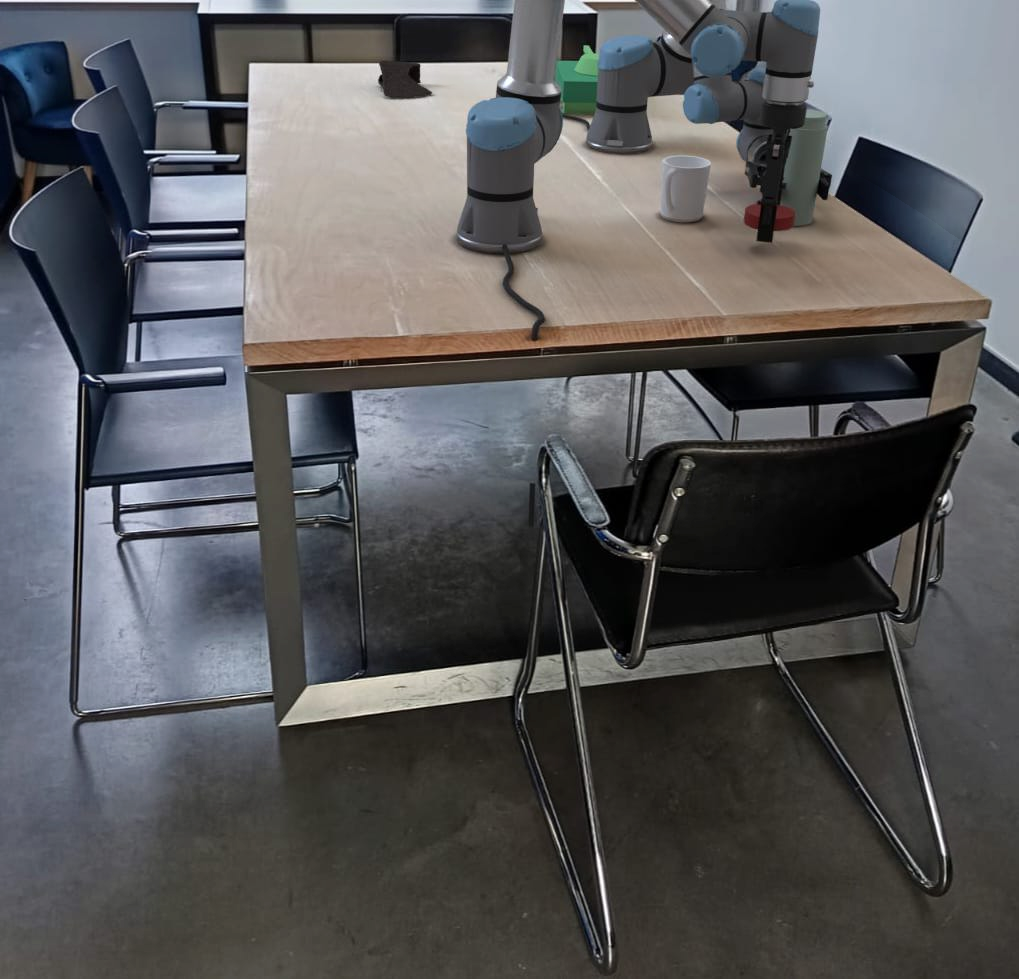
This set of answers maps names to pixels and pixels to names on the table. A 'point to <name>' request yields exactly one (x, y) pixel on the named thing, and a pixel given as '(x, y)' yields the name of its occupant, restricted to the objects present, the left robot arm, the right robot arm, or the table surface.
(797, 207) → the jar
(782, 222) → the lid
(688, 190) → the mug
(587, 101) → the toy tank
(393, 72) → the axe head
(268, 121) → the table surface
